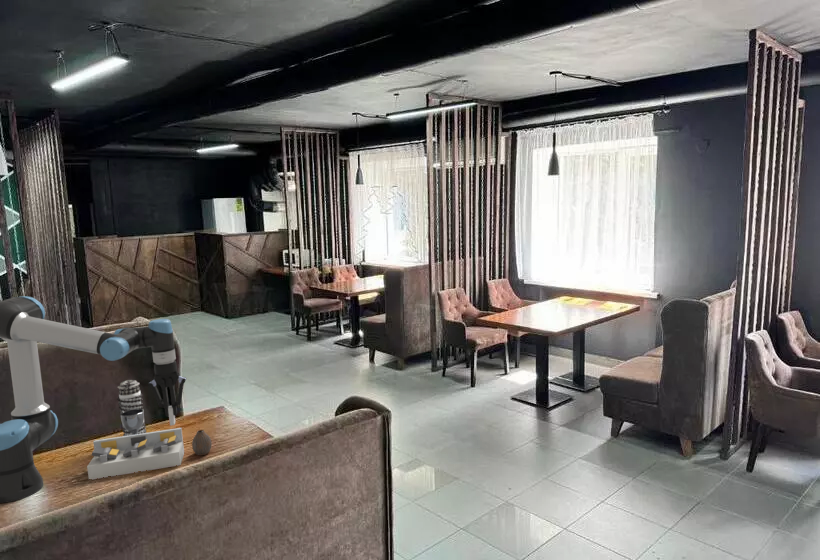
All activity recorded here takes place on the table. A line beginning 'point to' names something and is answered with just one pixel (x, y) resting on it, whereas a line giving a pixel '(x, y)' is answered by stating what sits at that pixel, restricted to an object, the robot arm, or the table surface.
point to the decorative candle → (130, 400)
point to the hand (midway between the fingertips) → (172, 423)
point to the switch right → (165, 443)
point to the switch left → (105, 452)
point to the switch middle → (136, 447)
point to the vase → (201, 443)
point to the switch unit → (137, 454)
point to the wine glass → (132, 420)
